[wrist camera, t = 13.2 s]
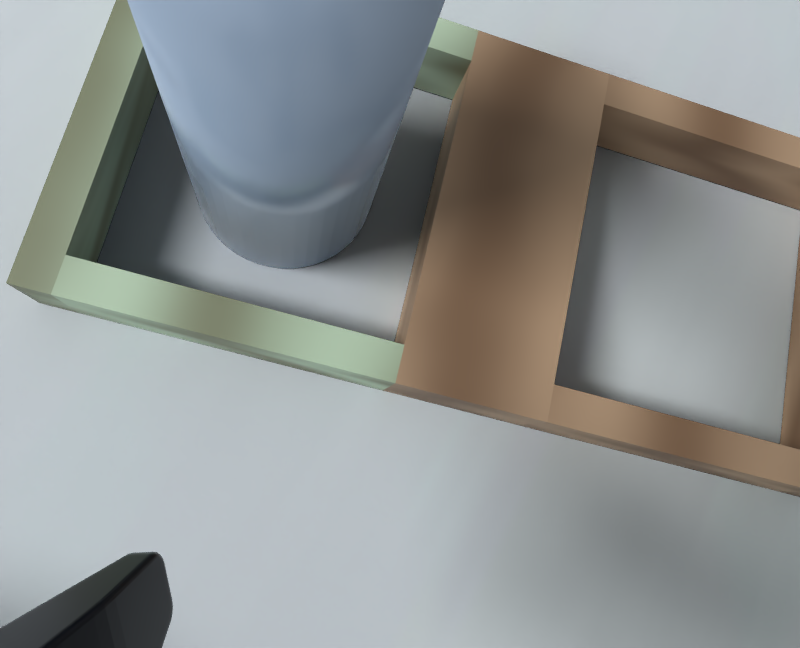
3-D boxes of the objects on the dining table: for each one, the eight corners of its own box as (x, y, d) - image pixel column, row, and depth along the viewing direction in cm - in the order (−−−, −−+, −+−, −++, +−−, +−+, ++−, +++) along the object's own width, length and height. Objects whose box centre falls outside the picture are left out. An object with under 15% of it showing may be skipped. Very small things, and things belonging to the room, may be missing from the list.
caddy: (830, 192, 26) (885, 166, 24) (804, 497, 24) (864, 503, 21) (161, -25, 23) (147, -81, 20) (39, 302, 20) (5, 283, 18)
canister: (246, 298, 21) (196, 102, 9) (165, 144, 22) (17, -232, 10) (401, 224, 23) (535, -29, 11) (322, 81, 23) (364, -315, 11)
